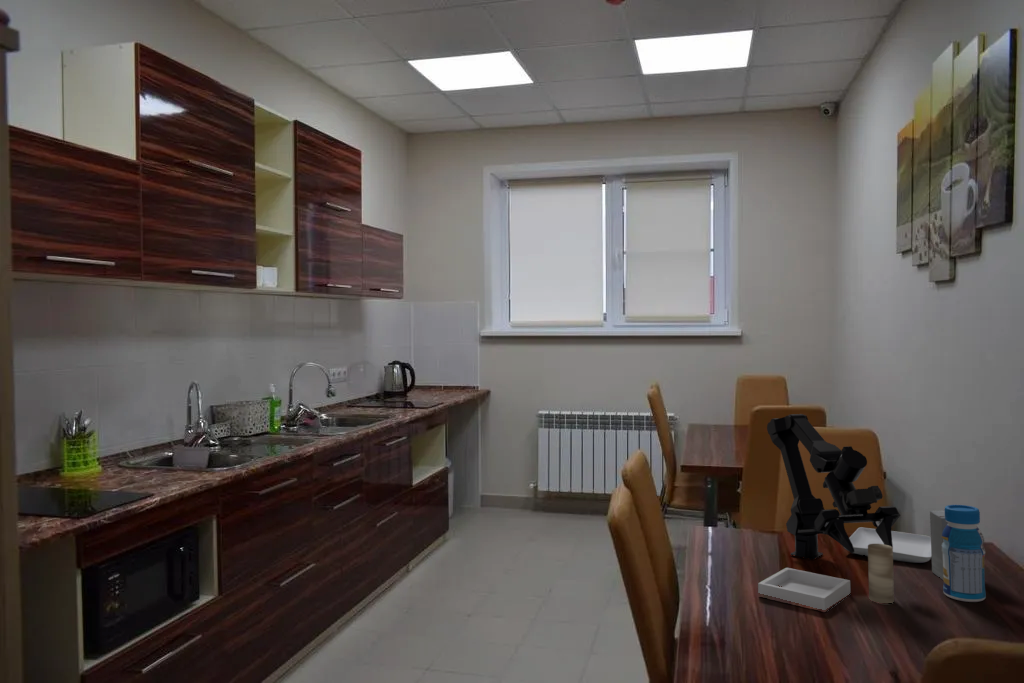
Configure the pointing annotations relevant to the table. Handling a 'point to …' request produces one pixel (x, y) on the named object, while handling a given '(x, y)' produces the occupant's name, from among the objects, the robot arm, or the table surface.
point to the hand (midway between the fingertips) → (872, 551)
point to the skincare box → (937, 541)
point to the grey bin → (805, 588)
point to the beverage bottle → (963, 554)
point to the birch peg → (880, 573)
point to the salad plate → (894, 544)
